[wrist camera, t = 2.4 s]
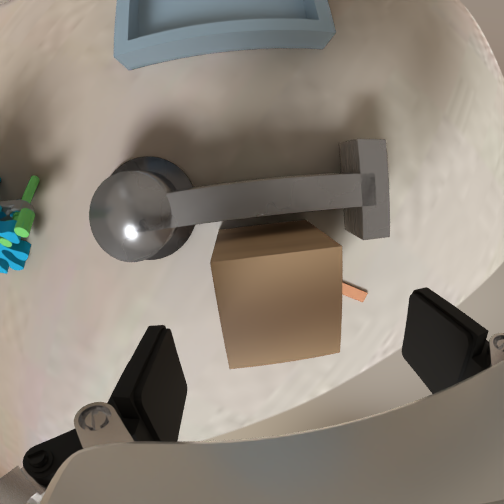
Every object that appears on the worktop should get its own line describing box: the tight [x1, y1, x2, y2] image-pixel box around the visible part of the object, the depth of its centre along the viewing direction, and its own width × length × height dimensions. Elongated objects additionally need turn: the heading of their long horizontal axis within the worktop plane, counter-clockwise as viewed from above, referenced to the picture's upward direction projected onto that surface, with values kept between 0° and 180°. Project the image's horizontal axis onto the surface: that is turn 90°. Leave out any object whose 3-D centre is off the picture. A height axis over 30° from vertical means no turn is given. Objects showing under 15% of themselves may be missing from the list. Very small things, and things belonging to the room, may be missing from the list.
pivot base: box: [111, 157, 368, 302], centre depth 17 cm, size 6×18×1 cm, turn 56°
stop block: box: [210, 220, 342, 369], centre depth 14 cm, size 5×5×6 cm
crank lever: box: [89, 139, 390, 262], centre depth 14 cm, size 15×5×3 cm, turn 96°
